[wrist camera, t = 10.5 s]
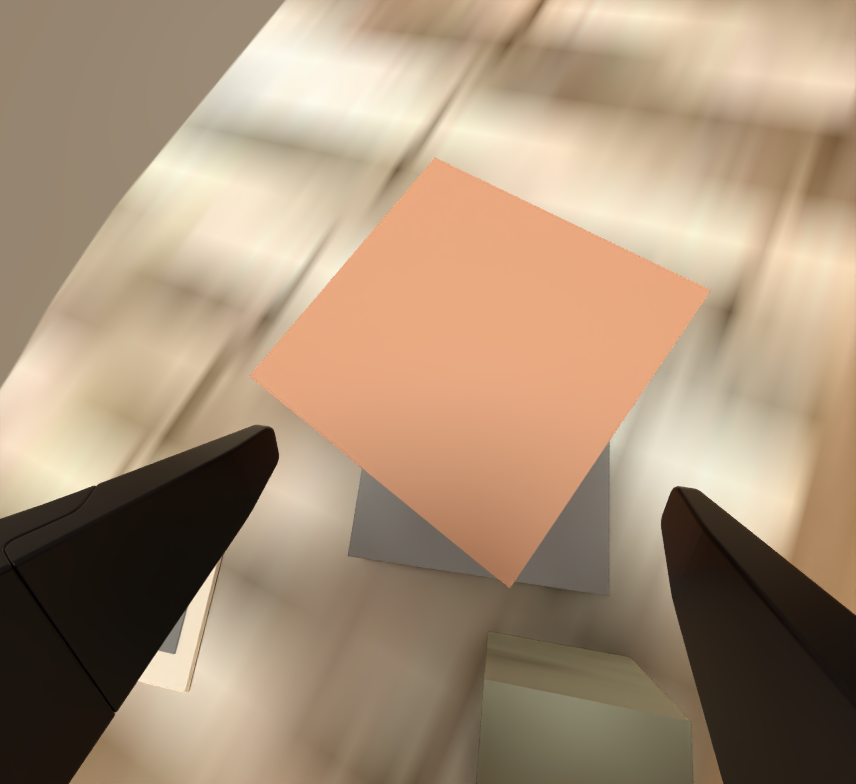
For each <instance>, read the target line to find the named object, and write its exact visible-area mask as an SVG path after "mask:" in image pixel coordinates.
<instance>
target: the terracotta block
mask: <svg viewBox="0 0 856 784" xmlns="http://www.w3.org/2000/svg"><path fill="white" fill-rule="evenodd" d="M710 291H711V290H709V289H707V288H705V287H703V286H701V285H699V284H697V283H694V282H692V281H690V280H688V279H686V278H684V277H682V276H680V275H678V274H676V273H674V272H672V271H670V270H667V269H665V268H663V267H661V266H659V265H657V264H655V263H653V262H651V261H649V260H647V259H645V258H643V257H640V256H638V255H636V254H634V253H632V252H630V251H628V250H626V249H624V248H622V247H620V246H618V245H616V244H613V243H611V242H609V241H607V240H605V239H603V238H601V237H599V236H597V235H595V234H593V233H591V232H588V231H586V230H584V229H582V228H580V227H578V226H576V225H574V224H572V223H570V222H568V221H566V220H564V219H561V218H559V217H557V216H555V215H553V214H551V213H549V212H547V211H545V210H543V209H541V208H539V207H537V206H534V205H532V204H530V203H528V202H526V201H524V200H522V199H520V198H518V197H516V196H514V195H512V194H510V193H507V192H505V191H503V190H501V189H499V188H497V187H495V186H493V185H491V184H489V183H487V182H485V181H482V180H480V179H478V178H476V177H474V176H472V175H470V174H468V173H466V172H464V171H462V170H460V169H458V168H455V167H453V166H451V165H449V164H447V163H445V162H443V161H441V160H439V159H437V158H434V159H433V161H432V162H431V163H430V164H429V165H428V166H427V168H426V169H425V170H424V171H423V172H422V174H421V175H420V176H419V177H418V178H417V179H416V181H415V182H414V183H413V184H412V185H411V186H410V188H409V189H408V190H407V191H406V192H405V194H404V195H403V196H402V197H401V198H400V199H399V201H398V202H397V203H396V204H395V205H394V206H393V208H392V209H391V210H390V211H389V212H388V214H387V215H386V216H385V217H384V218H383V219H382V221H381V222H380V223H379V224H378V225H377V226H376V228H375V229H374V230H373V231H372V232H371V234H370V235H369V236H368V237H367V238H366V239H365V241H364V242H363V243H362V244H361V245H360V246H359V248H358V249H357V250H356V251H355V252H354V254H353V255H352V256H351V257H350V258H349V259H348V261H347V262H346V263H345V264H344V265H343V266H342V268H341V269H340V270H339V271H338V272H337V274H336V275H335V276H334V277H333V278H332V279H331V281H330V282H329V283H328V284H327V285H326V286H325V288H324V289H323V290H322V291H321V292H320V294H319V295H318V296H317V297H316V298H315V299H314V301H313V302H312V303H311V304H310V305H309V306H308V308H307V309H306V310H305V311H304V312H303V313H302V315H301V316H300V317H299V318H298V319H297V321H296V322H295V323H294V324H293V325H292V326H291V328H290V329H289V330H288V331H287V332H286V333H285V335H284V336H283V337H282V338H281V339H280V341H279V342H278V343H277V344H276V345H275V346H274V348H273V349H272V350H271V351H270V352H269V353H268V355H267V356H266V357H265V358H264V359H263V361H262V362H261V363H260V364H259V365H258V366H257V368H256V369H255V370H254V371H253V372H252V373H251V375H250V377H251V378H252V379H254V380H255V381H256V382H257V383H259V384H260V385H261V386H262V387H263V388H265V389H266V390H267V391H268V392H270V393H271V394H272V395H273V396H274V397H276V398H277V399H278V400H279V401H281V402H282V403H283V404H284V405H285V406H287V407H288V408H289V409H290V410H292V411H293V412H294V413H295V414H296V415H298V416H299V417H300V418H301V419H303V420H304V421H305V422H306V423H307V424H309V425H310V426H311V427H312V428H314V429H315V430H316V431H317V432H319V433H320V434H321V435H322V436H323V437H325V438H326V439H327V440H328V441H330V442H331V443H332V444H333V445H334V446H336V447H337V448H338V449H339V450H341V451H342V452H343V453H344V454H345V455H347V456H348V457H349V458H350V459H352V460H353V461H354V462H355V463H356V464H358V465H359V466H360V467H361V468H363V469H364V470H365V471H366V472H367V473H369V474H370V475H371V476H372V477H374V478H375V479H376V480H377V481H378V482H380V483H381V484H382V485H383V486H385V487H386V488H387V489H388V490H389V491H391V492H392V493H393V494H394V495H396V496H397V497H398V498H399V499H401V500H402V501H403V502H404V503H405V504H407V505H408V506H409V507H410V508H412V509H413V510H414V511H415V512H416V513H418V514H419V515H420V516H421V517H423V518H424V519H425V520H426V521H427V522H429V523H430V524H431V525H432V526H434V527H435V528H436V529H437V530H438V531H440V532H441V533H442V534H443V535H445V536H446V537H447V538H448V539H449V540H451V541H452V542H453V543H454V544H456V545H457V546H458V547H459V548H460V549H462V550H463V551H464V552H465V553H467V554H468V555H469V556H470V557H471V558H473V559H474V560H475V561H476V562H478V563H479V564H480V565H481V566H483V567H484V568H485V569H486V570H487V571H489V572H490V573H491V574H492V575H494V576H495V577H496V578H497V579H498V580H500V581H501V582H502V583H503V584H505V585H506V586H507V587H508V588H509V589H510V588H511V586H512V585H513V583H514V582H515V580H516V579H517V577H518V576H519V574H520V573H521V571H522V570H523V568H524V567H525V566H526V564H527V563H528V561H529V560H530V558H531V557H532V555H533V554H534V552H535V551H536V549H537V548H538V546H539V545H540V543H541V542H542V540H543V539H544V537H545V536H546V534H547V533H548V531H549V530H550V528H551V527H552V525H553V524H554V522H555V521H556V519H557V518H558V516H559V515H560V514H561V512H562V511H563V509H564V508H565V506H566V505H567V503H568V502H569V500H570V499H571V497H572V496H573V494H574V493H575V491H576V490H577V488H578V487H579V485H580V484H581V482H582V481H583V479H584V478H585V476H586V475H587V473H588V472H589V470H590V469H591V467H592V466H593V465H594V463H595V462H596V460H597V459H598V457H599V456H600V454H601V453H602V451H603V450H604V448H605V447H606V445H607V444H608V442H609V441H610V439H611V438H612V436H613V435H614V433H615V432H616V430H617V429H618V427H619V426H620V424H621V423H622V421H623V420H624V418H625V417H626V416H627V414H628V413H629V411H630V410H631V408H632V407H633V405H634V404H635V402H636V401H637V399H638V398H639V396H640V395H641V393H642V392H643V390H644V389H645V387H646V386H647V384H648V383H649V381H650V380H651V378H652V377H653V375H654V374H655V372H656V371H657V369H658V368H659V366H660V365H661V364H662V362H663V361H664V359H665V358H666V356H667V355H668V353H669V352H670V350H671V349H672V347H673V346H674V344H675V343H676V341H677V340H678V338H679V337H680V335H681V334H682V332H683V331H684V329H685V328H686V326H687V325H688V323H689V322H690V320H691V319H692V317H693V316H694V315H695V313H696V312H697V310H698V309H699V307H700V306H701V304H702V303H703V301H704V300H705V298H706V297H707V295H708V294H709V292H710Z"/></svg>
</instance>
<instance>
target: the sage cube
mask: <svg viewBox="0 0 856 784" xmlns="http://www.w3.org/2000/svg"><path fill="white" fill-rule="evenodd" d="M476 784H693V759H692V734H691V721H690V720H689V719H688V718H687V717H686V715H685V714H684V713H683V712H682V711H681V710H680V709H679V708H678V707H677V706H676V705H675V704H674V703H673V702H672V701H671V700H670V699H669V698H668V697H667V696H666V694H665V693H664V692H663V691H662V690H661V689H660V688H659V687H658V686H657V685H656V684H655V683H654V682H653V681H652V680H651V679H650V678H649V677H648V676H647V674H646V673H645V672H644V671H643V670H642V669H641V668H640V667H639V666H638V665H637V664H636V663H635V662H634V661H633V660H632V659H631V658H630V657H626V656H621V655H615V654H610V653H604V652H599V651H593V650H588V649H582V648H577V647H571V646H566V645H561V644H555V643H550V642H544V641H539V640H533V639H528V638H522V637H517V636H511V635H506V634H500V633H495V632H489V631H488V641H487V652H486V663H485V674H484V687H483V700H482V713H481V725H480V738H479V751H478V764H477V777H476Z"/></svg>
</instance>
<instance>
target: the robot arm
mask: <svg viewBox="0 0 856 784" xmlns="http://www.w3.org/2000/svg"><path fill="white" fill-rule="evenodd" d="M278 460H279V452H278V447H277V442H276V437H275V432H274V430H273V428H271V427H269V426H263V425H253V426H251V427H248V428H245V429H243V430H240V431H237V432H235V433H232V434H229V435H227V436H224V437H221V438H219V439H216V440H214V441H211V442H208V443H206V444H203V445H200V446H198V447H195V448H192V449H190V450H187V451H184V452H182V453H179V454H176V455H174V456H171V457H168V458H166V459H163V460H161V461H158V462H155V463H153V464H150V465H147V466H145V467H142V468H139V469H137V470H134V471H131V472H129V473H126V474H123V475H121V476H118V477H116V478H113V479H110V480H108V481H105V482H102V483H100V484H98V485H97V486H91V487H89V488H86V489H84V490H81V491H78V492H76V493H73V494H70V495H67V496H65V497H62V498H59V499H56V500H54V501H51V502H48V503H45V504H43V505H40V506H37V507H34V508H31V509H28V510H25V511H22V512H19V513H16V514H13V515H10V516H7V517H4V518H1V519H0V784H69V783H70V781H71V780H72V778H73V777H74V775H75V774H76V772H77V771H78V769H79V768H80V766H81V765H82V763H83V762H84V760H85V759H86V757H87V756H88V755H89V753H90V752H91V750H92V749H93V747H94V746H95V744H96V743H97V741H98V740H99V738H100V737H101V735H102V734H103V732H104V731H105V729H106V728H107V726H108V725H109V723H110V722H111V720H112V719H113V718H114V716H115V712H117V711H118V710H119V708H120V707H121V705H122V704H123V702H124V701H125V699H126V698H127V696H128V695H129V693H130V692H131V690H132V689H133V687H134V686H135V684H136V683H137V681H138V680H139V679H140V677H141V676H142V674H143V673H144V671H145V670H146V668H147V667H148V665H149V664H150V662H151V661H152V659H153V658H154V656H155V655H156V653H157V652H158V650H159V649H160V647H161V646H162V644H163V643H164V641H165V640H166V639H167V637H168V636H169V634H170V633H171V631H172V630H173V628H174V627H175V625H176V624H177V622H178V621H179V619H180V618H181V616H182V615H183V613H184V612H185V610H186V609H187V607H188V606H189V604H190V603H191V601H192V600H193V599H194V597H195V596H196V594H197V593H198V591H199V590H200V588H201V587H202V585H203V584H204V582H205V581H206V579H207V578H208V576H209V575H210V573H211V572H212V570H213V569H214V567H215V566H216V564H217V563H218V561H219V560H220V559H221V557H222V556H223V554H224V553H225V551H226V550H227V548H228V547H229V545H230V544H231V542H232V541H233V539H234V538H235V536H236V535H237V533H238V532H239V530H240V529H241V527H242V526H243V524H244V523H245V521H246V520H247V518H248V517H249V515H250V513H251V512H252V510H253V508H254V506H255V504H256V503H257V501H258V499H259V497H260V495H261V493H262V491H263V490H264V488H265V486H266V484H267V482H268V480H269V478H270V476H271V475H272V473H273V471H274V469H275V467H276V465H277V463H278ZM661 529H662V536H663V542H664V549H665V555H666V562H667V569H668V575H669V582H670V588H671V594H672V599H673V603H674V607H675V611H676V615H677V618H678V622H679V625H680V629H681V633H682V636H683V640H684V643H685V647H686V651H687V654H688V658H689V661H690V665H691V669H692V672H693V676H694V679H695V683H696V687H697V690H698V694H699V697H700V701H701V705H702V708H703V712H704V716H705V719H706V723H707V726H708V730H709V734H710V737H711V741H712V744H713V748H714V752H715V755H716V759H717V762H718V766H719V770H720V773H721V777H722V780H723V784H856V615H855V614H854V613H852V612H851V611H850V610H849V609H847V608H846V607H845V606H844V605H842V604H841V603H840V602H839V601H837V600H836V599H835V598H834V597H832V596H831V595H830V594H828V593H827V592H826V591H825V590H823V589H822V588H821V587H820V586H818V585H817V584H816V583H815V582H813V581H812V580H811V579H810V578H808V577H807V576H806V575H805V574H803V573H802V572H801V571H800V570H798V569H797V568H796V567H795V566H793V565H792V564H791V563H790V562H788V561H787V560H786V559H785V558H783V557H782V556H781V555H780V554H778V553H777V552H776V551H775V550H773V549H772V548H771V547H770V546H768V545H767V544H766V543H765V542H763V541H762V540H761V539H760V538H758V537H757V536H756V535H755V534H753V533H752V532H751V531H750V530H748V529H747V528H746V527H745V526H743V525H742V524H741V523H740V522H738V521H737V520H736V519H735V518H733V517H732V516H731V515H730V514H728V513H727V512H726V511H725V510H723V509H722V508H721V507H719V506H718V505H717V504H716V503H714V502H713V501H712V500H711V499H709V498H708V497H707V496H706V495H704V494H703V493H702V492H701V491H699V490H697V489H694V488H687V487H680V486H677V487H674V488H673V489H672V491H671V493H670V496H669V498H668V501H667V504H666V507H665V509H664V512H663V515H662V519H661Z"/></svg>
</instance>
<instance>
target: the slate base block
mask: <svg viewBox="0 0 856 784" xmlns="http://www.w3.org/2000/svg"><path fill="white" fill-rule="evenodd" d="M348 556H351V557H357V558H364V559H370V560H377V561H384V562H390V563H397V564H403V565H410V566H416V567H423V568H429V569H436V570H442V571H449V572H455V573H462V574H468V575H475V576H481V577H488V578H495V579H497V578H496V577H495V576H494V575H492V574H491V573H490V572H489V571H487V570H486V569H485V568H484V567H483V566H481V565H480V564H479V563H478V562H476V561H475V560H474V559H473V558H471V557H470V556H469V555H468V554H467V553H465V552H464V551H463V550H462V549H460V548H459V547H458V546H457V545H456V544H454V543H453V542H452V541H451V540H449V539H448V538H447V537H446V536H445V535H443V534H442V533H441V532H440V531H438V530H437V529H436V528H435V527H434V526H432V525H431V524H430V523H429V522H427V521H426V520H425V519H424V518H423V517H421V516H420V515H419V514H418V513H416V512H415V511H414V510H413V509H412V508H410V507H409V506H408V505H407V504H405V503H404V502H403V501H402V500H401V499H399V498H398V497H397V496H396V495H394V494H393V493H392V492H391V491H389V490H388V489H387V488H386V487H385V486H383V485H382V484H381V483H380V482H378V481H377V480H376V479H375V478H374V477H372V476H371V475H370V474H369V473H367V472H366V471H365V470H364V469H363V468H362V472H361V478H360V484H359V490H358V497H357V503H356V509H355V515H354V521H353V527H352V534H351V540H350V546H349V552H348ZM515 582H521V583H527V584H534V585H540V586H547V587H553V588H560V589H566V590H573V591H579V592H586V593H593V594H599V595H606V596H609V442H608V444H607V445H606V447H605V448H604V450H603V451H602V453H601V454H600V456H599V457H598V459H597V460H596V462H595V463H594V465H593V466H592V467H591V469H590V470H589V472H588V473H587V475H586V476H585V478H584V479H583V481H582V482H581V484H580V485H579V487H578V488H577V490H576V491H575V493H574V494H573V496H572V497H571V499H570V500H569V502H568V503H567V505H566V506H565V508H564V509H563V511H562V512H561V514H560V515H559V516H558V518H557V519H556V521H555V522H554V524H553V525H552V527H551V528H550V530H549V531H548V533H547V534H546V536H545V537H544V539H543V540H542V542H541V543H540V545H539V546H538V548H537V549H536V551H535V552H534V554H533V555H532V557H531V558H530V560H529V561H528V563H527V564H526V566H525V567H524V568H523V570H522V571H521V573H520V574H519V576H518V577H517V579H516V580H515Z"/></svg>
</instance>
